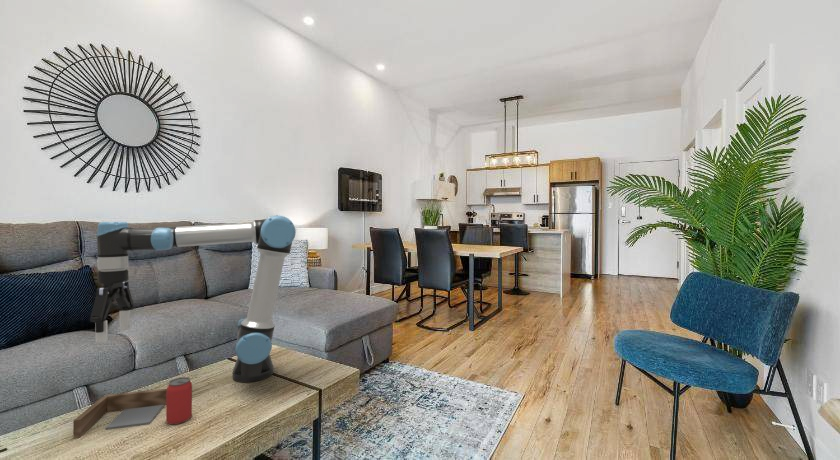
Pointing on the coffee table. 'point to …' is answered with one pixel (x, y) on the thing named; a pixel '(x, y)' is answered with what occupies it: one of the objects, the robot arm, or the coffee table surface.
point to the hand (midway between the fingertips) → (113, 335)
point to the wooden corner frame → (116, 407)
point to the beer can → (179, 400)
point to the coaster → (135, 417)
